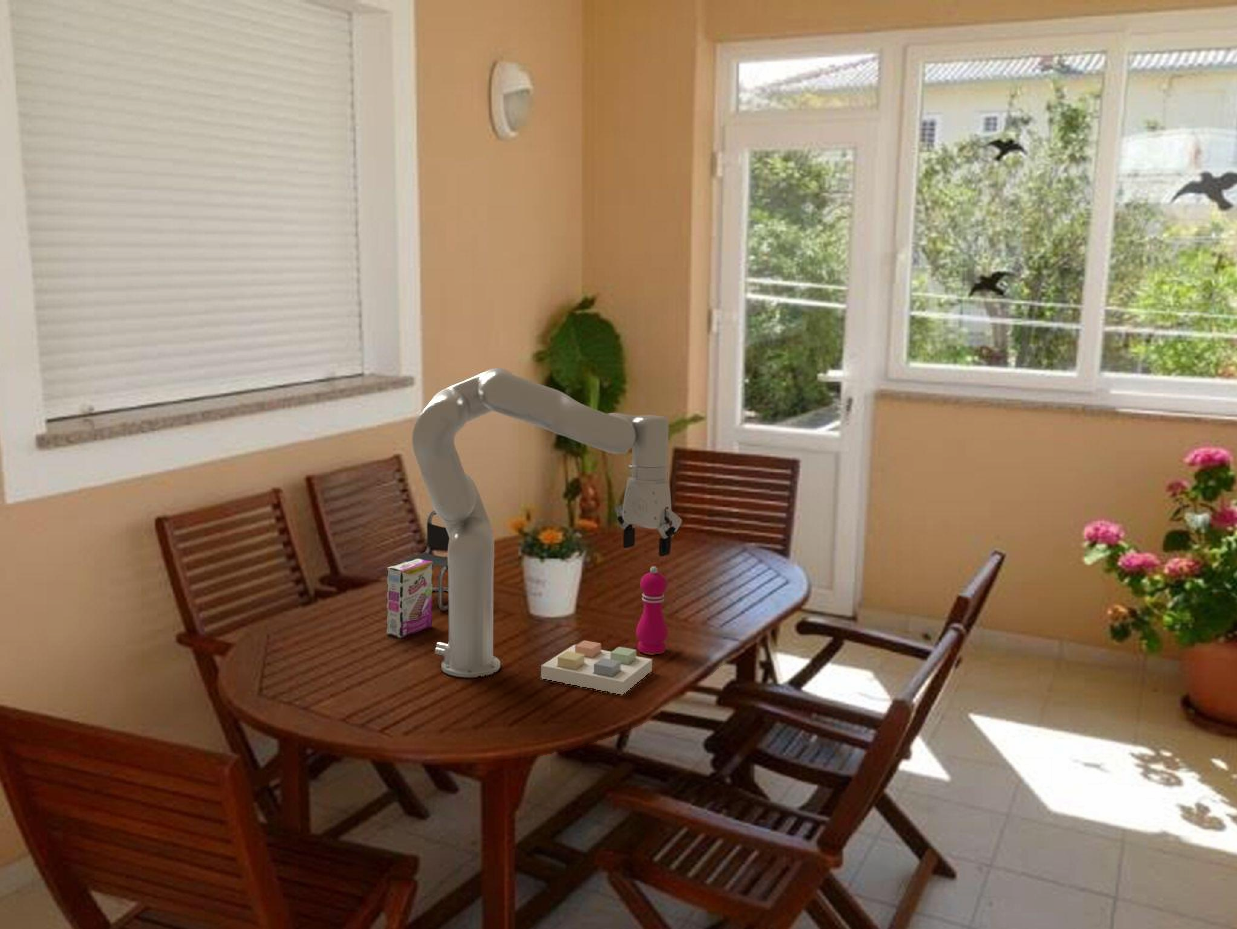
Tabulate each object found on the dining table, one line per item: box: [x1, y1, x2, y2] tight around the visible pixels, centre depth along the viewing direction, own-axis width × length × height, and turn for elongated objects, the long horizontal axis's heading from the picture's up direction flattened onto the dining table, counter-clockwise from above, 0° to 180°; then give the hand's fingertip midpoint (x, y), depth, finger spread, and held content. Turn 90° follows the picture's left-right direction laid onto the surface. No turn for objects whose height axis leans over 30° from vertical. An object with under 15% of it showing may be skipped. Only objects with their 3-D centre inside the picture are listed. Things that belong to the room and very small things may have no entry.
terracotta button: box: [575, 640, 602, 659], centre depth 236 cm, size 4×4×2 cm
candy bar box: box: [386, 559, 434, 639], centre depth 256 cm, size 11×5×16 cm, turn 149°
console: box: [540, 644, 653, 696], centre depth 231 cm, size 19×15×3 cm
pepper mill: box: [635, 566, 669, 653], centre depth 246 cm, size 7×7×20 cm
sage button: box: [610, 646, 637, 665], centre depth 233 cm, size 4×4×2 cm
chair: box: [400, 510, 450, 612], centre depth 280 cm, size 13×17×22 cm
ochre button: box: [558, 651, 585, 670], centre depth 229 cm, size 4×4×2 cm
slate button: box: [594, 658, 621, 677], centre depth 225 cm, size 4×4×2 cm
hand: (646, 551), depth 234 cm, fingers open, 9 cm apart
